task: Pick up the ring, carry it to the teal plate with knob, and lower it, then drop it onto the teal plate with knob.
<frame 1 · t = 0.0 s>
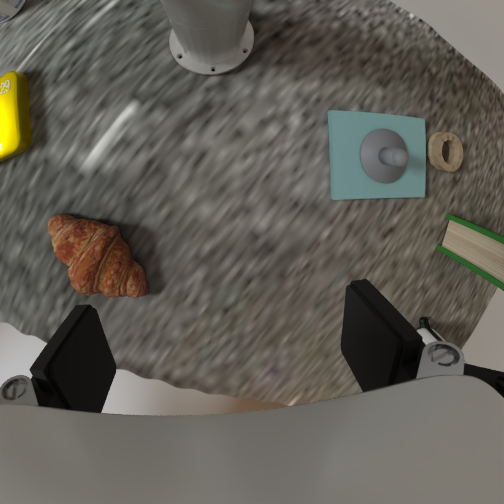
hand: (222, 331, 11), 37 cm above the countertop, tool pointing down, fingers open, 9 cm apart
pastry: (98, 252, 47), on the countertop
hardback book: (466, 239, 53), on the countertop
teal plate with knob: (379, 155, 45), on the countertop
ring: (440, 151, 46), on the countertop
coffee press: (414, 345, 60), on the countertop
supplement tub: (12, 4, 27), on the countertop
element tile: (2, 122, 37), on the countertop
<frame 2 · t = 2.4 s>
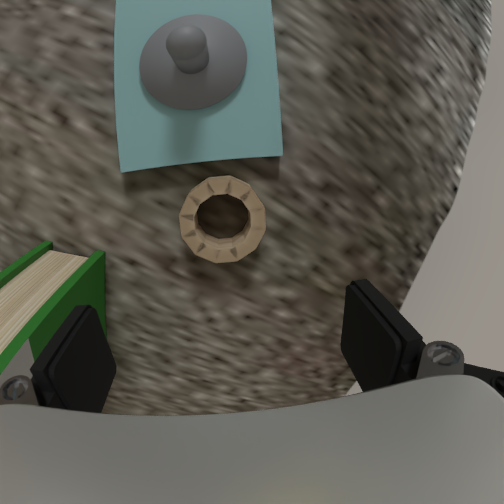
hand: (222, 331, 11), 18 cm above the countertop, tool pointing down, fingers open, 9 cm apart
hardback book: (78, 317, 30), on the countertop
teal plate with knob: (194, 65, 23), on the countertop
ring: (222, 214, 28), on the countertop
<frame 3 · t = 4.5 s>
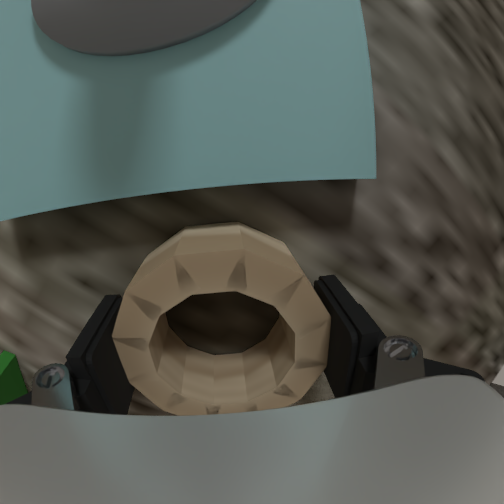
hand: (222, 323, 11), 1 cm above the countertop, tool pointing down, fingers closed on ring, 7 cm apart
hardback book: (12, 424, 14), on the countertop
ring: (221, 309, 12), on the countertop, touching gripper
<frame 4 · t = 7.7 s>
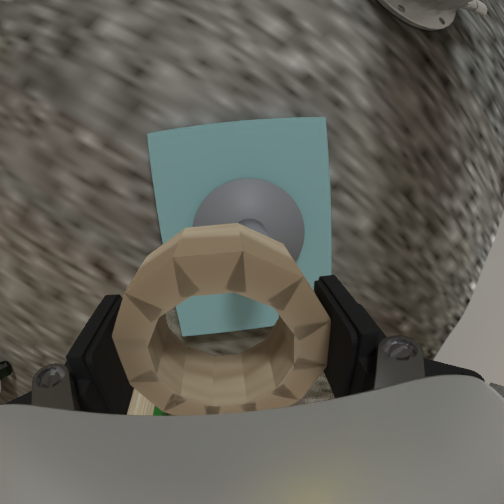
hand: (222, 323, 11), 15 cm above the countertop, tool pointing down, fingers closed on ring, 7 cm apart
hardback book: (140, 423, 33), on the countertop
teal plate with knob: (246, 229, 26), on the countertop
ring: (221, 310, 12), point 14 cm above the countertop, touching gripper
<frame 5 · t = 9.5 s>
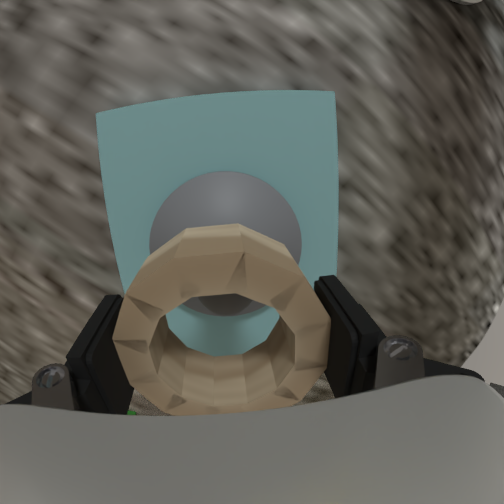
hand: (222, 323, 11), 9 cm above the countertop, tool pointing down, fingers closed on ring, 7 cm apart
teal plate with knob: (225, 239, 20), on the countertop
ring: (221, 311, 12), point 8 cm above the countertop, touching gripper
when the fingers open (5 cm above the countertop, at t = 10.9 s): ring drops 2 cm, resting on teal plate with knob.
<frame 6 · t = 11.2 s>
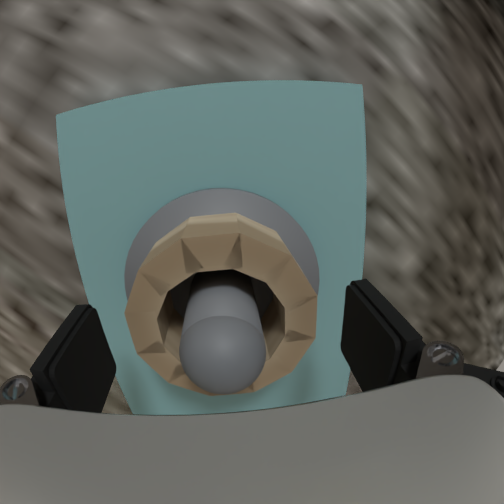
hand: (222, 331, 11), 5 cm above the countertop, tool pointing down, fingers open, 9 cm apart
teal plate with knob: (221, 272, 15), on the countertop
ring: (221, 291, 14), point 2 cm above the countertop, touching teal plate with knob
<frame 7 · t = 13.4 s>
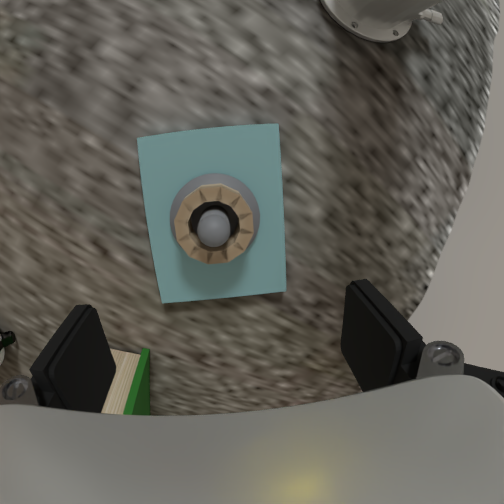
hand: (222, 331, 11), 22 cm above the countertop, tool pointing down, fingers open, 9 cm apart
hardback book: (125, 388, 39), on the countertop
teal plate with knob: (214, 214, 32), on the countertop
ring: (214, 219, 30), point 2 cm above the countertop, touching teal plate with knob
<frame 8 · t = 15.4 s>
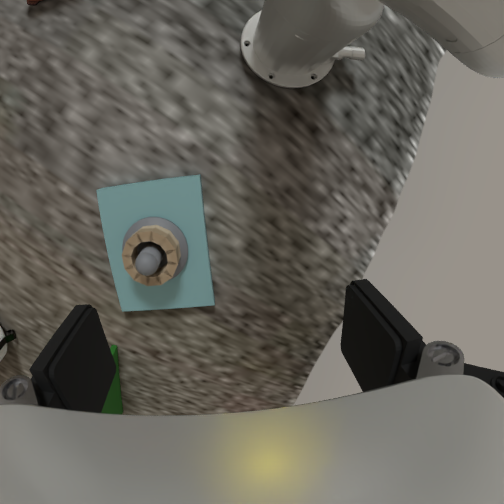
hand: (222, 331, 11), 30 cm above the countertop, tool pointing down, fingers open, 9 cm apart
hardback book: (101, 377, 48), on the countertop
teal plate with knob: (157, 246, 40), on the countertop
ring: (154, 251, 38), point 2 cm above the countertop, touching teal plate with knob
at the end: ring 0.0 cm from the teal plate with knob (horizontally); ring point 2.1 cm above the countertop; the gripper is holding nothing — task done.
